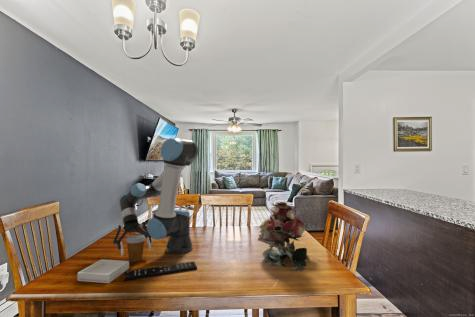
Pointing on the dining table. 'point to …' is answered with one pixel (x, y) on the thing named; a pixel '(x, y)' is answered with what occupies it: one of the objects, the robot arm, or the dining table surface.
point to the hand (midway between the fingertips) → (136, 251)
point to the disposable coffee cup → (135, 247)
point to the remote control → (159, 271)
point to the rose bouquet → (283, 237)
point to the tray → (103, 271)
